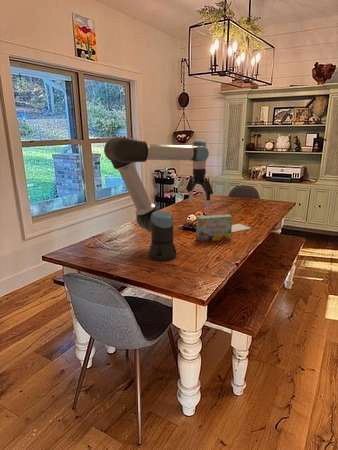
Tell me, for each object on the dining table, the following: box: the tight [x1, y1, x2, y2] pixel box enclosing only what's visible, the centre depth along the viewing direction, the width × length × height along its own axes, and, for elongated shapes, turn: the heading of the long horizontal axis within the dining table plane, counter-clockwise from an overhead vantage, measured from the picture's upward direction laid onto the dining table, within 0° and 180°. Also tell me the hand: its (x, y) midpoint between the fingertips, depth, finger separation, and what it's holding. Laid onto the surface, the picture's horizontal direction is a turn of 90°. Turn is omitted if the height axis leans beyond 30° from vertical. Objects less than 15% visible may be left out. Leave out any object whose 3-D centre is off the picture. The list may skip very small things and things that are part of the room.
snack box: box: [195, 213, 233, 243], centre depth 193 cm, size 21×6×15 cm, turn 105°
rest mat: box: [231, 222, 253, 234], centre depth 214 cm, size 12×26×1 cm, turn 120°
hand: (198, 203), depth 190 cm, fingers open, 13 cm apart
